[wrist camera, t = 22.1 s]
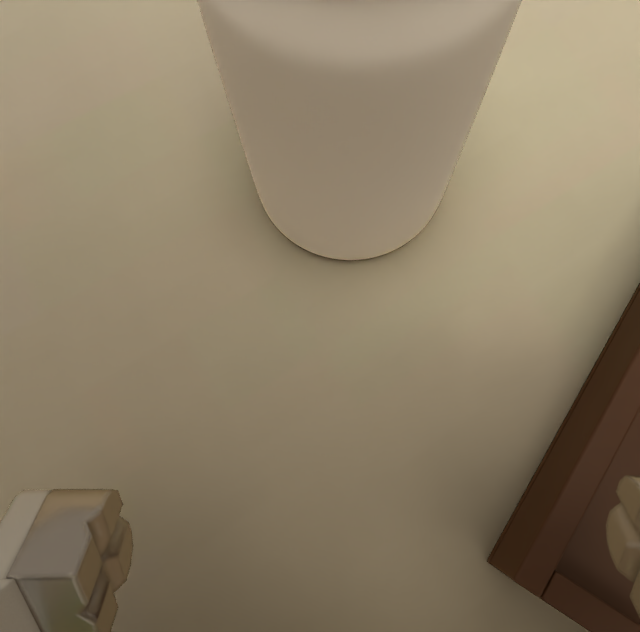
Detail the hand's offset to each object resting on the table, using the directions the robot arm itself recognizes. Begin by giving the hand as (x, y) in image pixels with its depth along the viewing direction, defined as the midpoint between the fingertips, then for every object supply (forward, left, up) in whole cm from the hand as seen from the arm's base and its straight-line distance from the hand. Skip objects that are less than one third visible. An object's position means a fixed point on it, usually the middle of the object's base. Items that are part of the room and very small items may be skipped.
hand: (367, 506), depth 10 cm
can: (-6, +9, -9) cm, 14 cm away
